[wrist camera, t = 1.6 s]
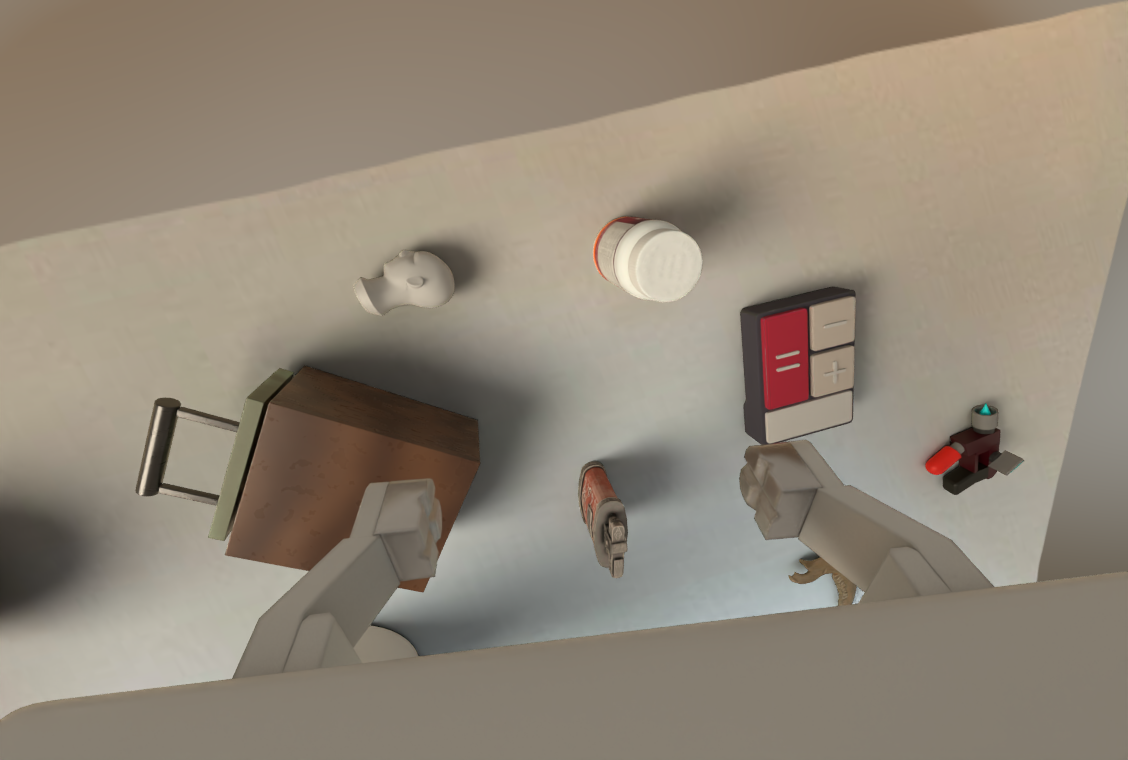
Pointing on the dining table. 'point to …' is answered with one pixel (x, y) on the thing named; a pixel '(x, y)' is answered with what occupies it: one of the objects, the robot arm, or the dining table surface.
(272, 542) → the cabinet
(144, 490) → the drawer
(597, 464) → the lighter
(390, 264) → the white mannequin head
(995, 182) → the dining table surface
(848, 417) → the calculator
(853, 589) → the jawbone
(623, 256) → the pill bottle
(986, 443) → the toy gun
